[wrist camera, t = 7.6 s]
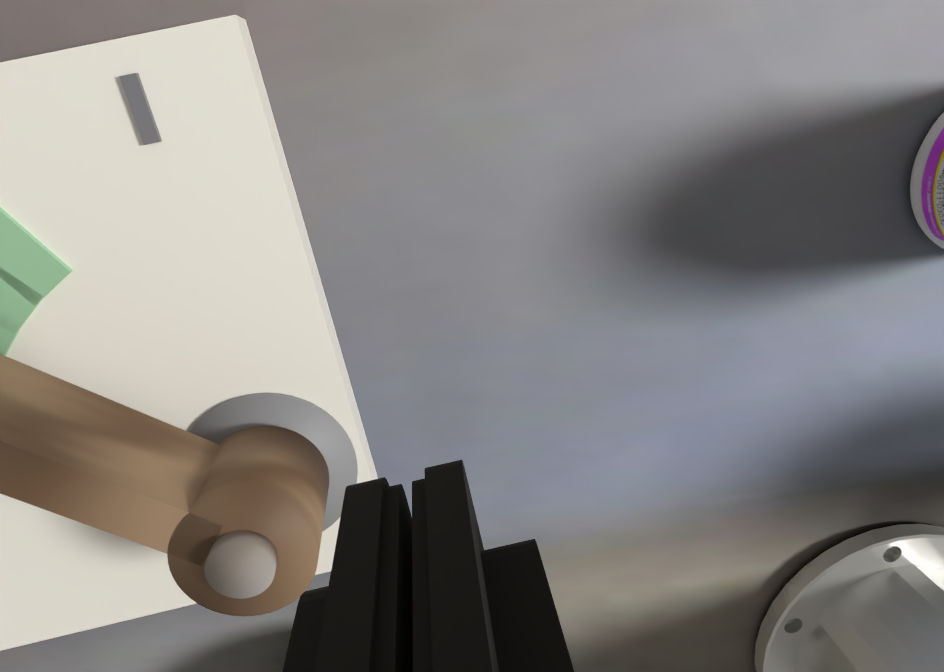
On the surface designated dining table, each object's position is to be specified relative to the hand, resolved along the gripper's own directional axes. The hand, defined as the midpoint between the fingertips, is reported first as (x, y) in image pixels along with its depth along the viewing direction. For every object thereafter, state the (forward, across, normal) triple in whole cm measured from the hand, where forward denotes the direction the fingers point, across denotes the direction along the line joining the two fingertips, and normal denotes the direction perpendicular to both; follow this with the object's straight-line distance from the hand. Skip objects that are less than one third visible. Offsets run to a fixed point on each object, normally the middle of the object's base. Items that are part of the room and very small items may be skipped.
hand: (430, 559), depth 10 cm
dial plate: (+16, +12, 0) cm, 20 cm away
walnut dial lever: (+14, +10, +2) cm, 17 cm away
